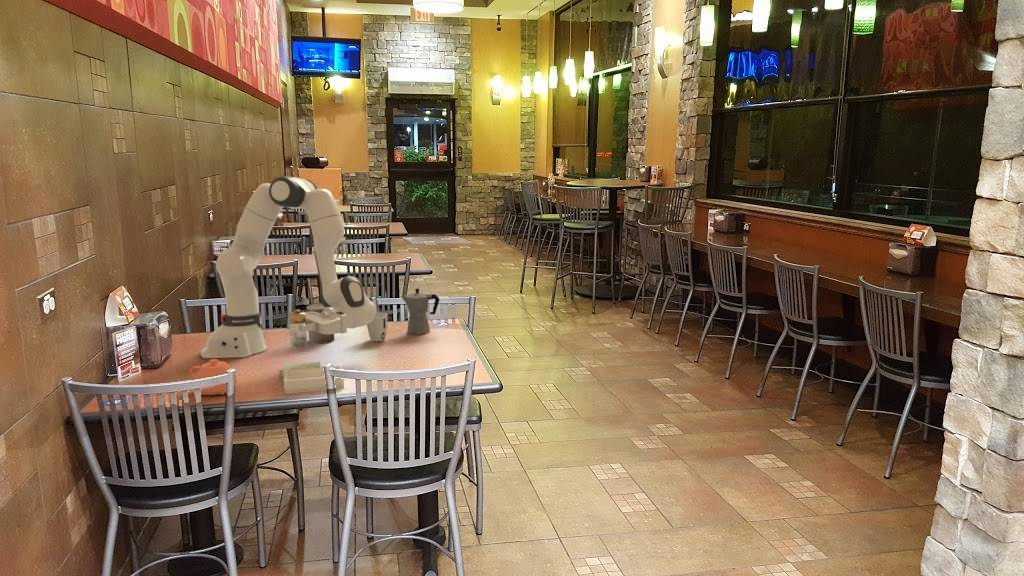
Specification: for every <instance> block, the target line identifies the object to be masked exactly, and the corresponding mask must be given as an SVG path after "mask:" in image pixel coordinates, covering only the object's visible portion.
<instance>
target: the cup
mask: <svg viewBox="0 0 1024 576" xmlns="http://www.w3.org/2000/svg"><path fill="white" fill-rule="evenodd" d="M366 327H367V331H368V336H369V338H370V341H371V342H373V341H376V342H375V343H378V342H377V341H381V342H384V341H385V340H386V335H387V331H388V330H387V329H388V313H386V312H376V314H375V318H374V319H373V321H372V322H371V323H369V324H367V325H366ZM383 340H384V341H383Z"/></svg>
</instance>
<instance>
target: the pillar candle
mask: <svg viewBox="0 0 1024 576" xmlns="http://www.w3.org/2000/svg"><path fill="white" fill-rule="evenodd" d="M324 308H325V307H324V306H323V304H322V303H321V302H319V303H315V304H310V305H308V306H306V312H317V313H321V312H322V311H323V309H324ZM335 339H336V338H335V334H322V333H319V332H316V331H308V340H309V341H310V342H309V341H308V342H309V343H312V344H315V343H321V344H326V343H331V342H334V341H335Z"/></svg>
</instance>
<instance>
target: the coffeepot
mask: <svg viewBox="0 0 1024 576" xmlns="http://www.w3.org/2000/svg"><path fill="white" fill-rule="evenodd" d="M400 298H401V299H402V300H403V301H404V303H405V304H406V306H407V310H408V311H407V312H408V313H409V316H408V323H407V329H406V331H407V334H409V335H412V334H416V335H415V336H420V335H419V334H423V335H427V334H429V333H430V332H431V330H430V325H429V320H428V315H427V312H428V308H429V307H428V306H429V300H435V301H434V302H433V304H434V305H433V307H432V311H430V312H429V315H436V311H437V308H438V306H439V302H440V297H439V296H438V295H437V294H431V293H430V294H427V293H422V292H420V288H415V292H413V293H410V294H406V295H405V294H404V295H402V296H401V297H400ZM428 332H429V333H428ZM426 333H427V334H426Z"/></svg>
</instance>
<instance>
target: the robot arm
mask: <svg viewBox="0 0 1024 576" xmlns="http://www.w3.org/2000/svg"><path fill="white" fill-rule="evenodd" d="M284 208H288V209H291V210H292V209H293V210H297V209H299V210H300V209H302V210H304V211H305V213H306V215H307V217H308V221H309V224H310V228H311V232H312V238H313V254H314V259H315V263H316V269H317V274H318V280H319V299H320V304H323V306H324V307H325V308H324V309H323V311H322V312H321V313H317V312H307V311H304V312H305V317H306V325H300V326H299V330H300V331H306V332H307V331H316V332H319V333H322V334H334V335H335V334H342V335H343V334H346V333H348V329H357V328H361V327H364V326H367V324H369V323H371V322H372V321H373V319H374V318H375V314H376V313H377V310H376V306H375V303H374V302H373V301H371V300H370V298H369V297H368V296H367V295H366V292H365V290H364V286H363V283H362V282H361V280H359V279H358V278H357V277H356V276H353V275H347V276H344V277H342V278H338V275H337V271H336V265H335V257H334V256H335V253H336V250H337V248H338V247H339V244H340V243H341V242H342V240H343V239H344V235H345V225H344V220H343V217H342V214H341V210H340V208H339V205H338V203H337V201H336V199H335V197H334V195H333V193H332V192H331V190H328V188H327V189H326V188H318V186H317V185H316V184H315V183H314V182H312V181H310V180H309V179H304V178H302V177H297V176H293V177H292V176H288V175H284V176H279V177H276V178H275V179H273V180H272V181H271V183H269V182H266V183H261V184H259V185H258V186H257V188H256V189H255V190H254V192H253V193H252V194H251V196H250V198H249V200H248V202H247V204H246V206H245V208H244V210H243V212H242V215H241V216H240V218H239V220H238V223H237V225H236V232H235V235H234V238H233V241H232V243H231V246H229V248H227V249H225V250H223V251H222V252H221V253H220V254H219V255H218V257H217V259H216V262H215V268H216V271H217V273H218V274H219V277H220V281H221V284H222V287H223V292H224V298H225V309H226V310H225V311H226V313H225V312H223V313H222V314H221V315H220V320H221V322H220V323H221V325H219V326H218V327H217V328H216V329H215V330H214V331H212V332H211V333H210V334H209V336H208V338H207V340H206V347H204V348H202V349H201V351H200V357H201V356H202V357H203V358H202V357H201V358H202V359H225V358H226V359H227V358H228V359H229V358H230V359H231V358H234V359H235V358H247V357H250V356H251V355H255V354H259V353H262V352H264V351H266V350H267V348H268V347H267V344H266V342H265V340H264V336H263V332H262V331H263V330H262V324H263V323H262V315H261V311H260V308H259V294H258V290H257V288H256V285H255V282H254V278H253V271H254V270H255V269H256V268H257V266H258V265H259V263H260V260H261V258H262V254H263V252H264V249H265V246H266V244H267V243H266V242H267V240H268V237H269V236H270V234H271V232H272V230H273V228H274V225H275V223H276V222H277V219H278V216H279V215H280V213H281V211H282V209H284ZM288 323H289V326H290V322H288Z"/></svg>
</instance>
